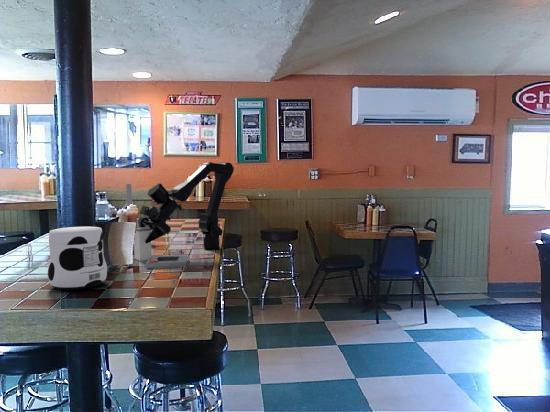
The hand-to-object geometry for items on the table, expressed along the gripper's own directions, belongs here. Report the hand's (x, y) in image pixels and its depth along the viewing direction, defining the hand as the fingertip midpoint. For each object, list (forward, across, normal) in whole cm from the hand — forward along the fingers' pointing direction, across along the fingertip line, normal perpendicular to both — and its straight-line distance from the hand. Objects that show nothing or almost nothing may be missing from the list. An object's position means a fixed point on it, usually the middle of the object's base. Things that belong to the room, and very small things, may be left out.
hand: (140, 241), depth 194 cm
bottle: (-8, -52, +19) cm, 56 cm away
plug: (+5, 0, +6) cm, 7 cm away
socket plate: (+3, +15, +8) cm, 17 cm away
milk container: (+29, +26, -18) cm, 43 cm away
